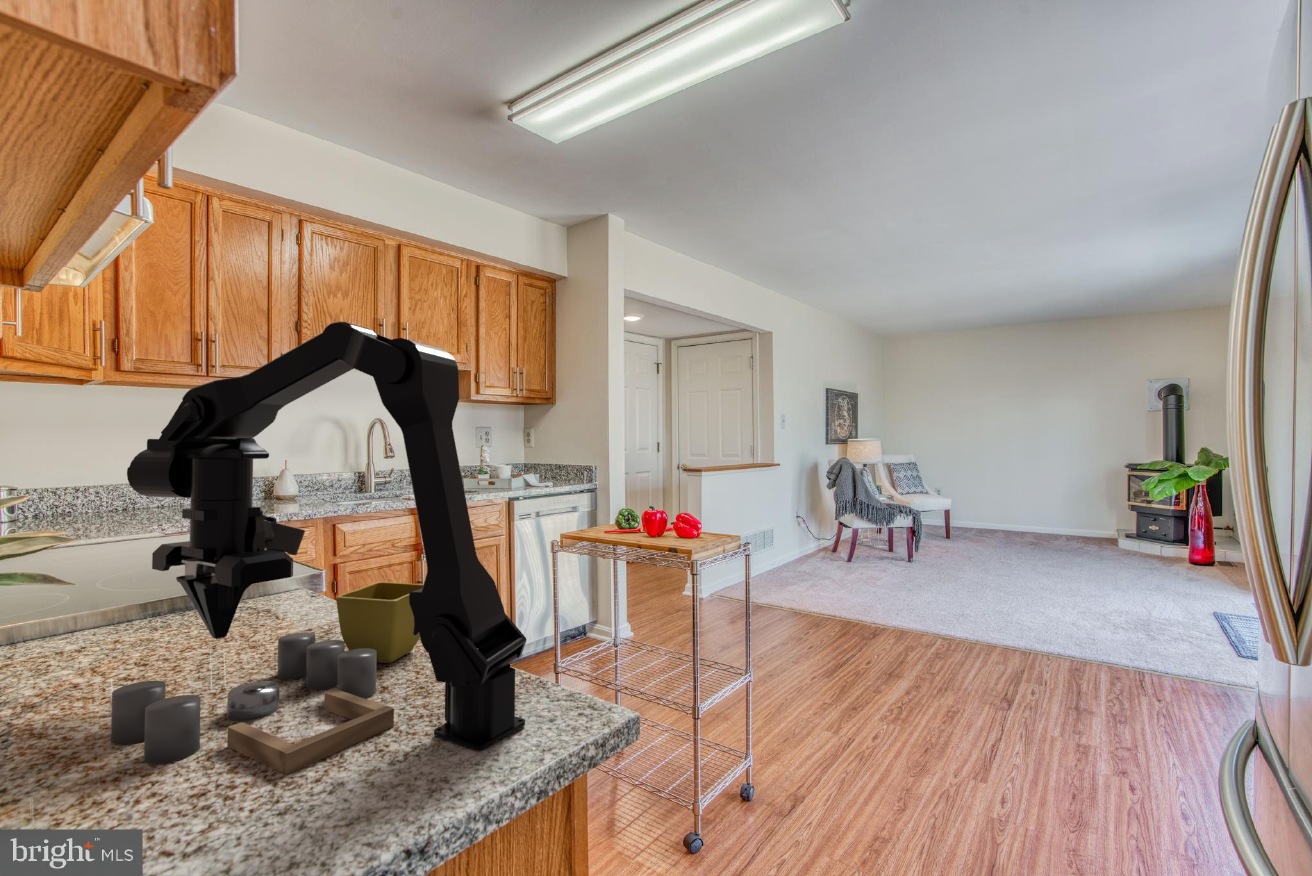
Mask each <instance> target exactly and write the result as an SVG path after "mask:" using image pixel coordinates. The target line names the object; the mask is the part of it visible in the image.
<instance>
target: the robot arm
mask: <svg viewBox="0 0 1312 876" xmlns="http://www.w3.org/2000/svg"><path fill="white" fill-rule="evenodd" d="M352 370H356V371H358V372H361V373H363V374H365V375H369V376H370V377H372V378H373V380H374V383H375V387H376V390H377V392H378V395H379V397H380V401H381V403H382V405H383V406H384V408H385V409H386V411H387V413H389V415H390V416H391V418H392V419H393V420H394V422H395V423H396V424H397V426H398V428H400V430H401V433H402V435H403V436H402V437H403V442H404V449H405V454H406V459H407V460H406V461H407V463H408V470H409V475H410V481H411V486H412V493H413V496H414V497H413V498H414V504H415V508H416V509H415V510H416V513H417V514H416V515H417V520H418V525H419V530H420V535H421V541H422V547H423V552H424V556H425V562H426V574H425V575H426V576H425V578H424V582H423V588H421V589H419V590H416V591H413V592H411V593H410V594H409V603H410V606H411V609H412V612H413V616H414V632H413V634H414V635H417V634H419V633H420V638H419V639H420V642H421V645H422V647H423V648H424V650H425V652H426V653H428V656H429V659H430V663H431V667H432V669H433V673H434V676H435V680H436V682H439V683H445V685H444V686H445V687H444V689H445V691H444V722H446V723H443V724H442V725H440V726H438V727H436V728H434V729H433V735H434V736H435V737H438V738H440V739H443V740H447V741H449V742H451V743H455V744H458V745H460V746H464V747H466V748H469V749H472V750H475V751H482V750H485V749H487V748H488V747H490V746H492V745H493V744H495V743H497V742H498V741H500V740H503V739H504V738H505V737H508V736H510V734H512V733H515V732H516V731H518V730H520V729H521V728H523V727H525V725H526V719H525V718H523V717H518V716H515V715H516V712H515V711H516V668H515V667H511V663H512V662H513V661H514V660H516V659H519V658H520V657H521V656H522V654H523V651H524V649H525V646H526V643H527V638H526V636H525V635H524V634H523V632H522V631H521V630H520V629H519V628H518V626H517V625H516V624H515V623H514V622H513V621H512V620H511V618H510V617H509V616H508V615H507V614H506V612H505V608H504V604H503V602H502V599H501V596H500V594H499V591H498V588H497V584H496V582H495V580H494V578H493V577H492V575H490V573H489V572H488V571H487V569H486V568H485V566H484V565H483V564H482V562H481V561H480V560H479V558H478V555H477V551H476V547H475V541H474V536H473V530H472V525H471V521H470V513H469V510H468V504H467V498H466V493H465V488H464V482H463V478H462V477H463V476H462V471H461V467H460V466H461V465H460V461H459V455H458V451H457V445H456V441H455V434H454V430H453V421H454V417H455V413H456V411H457V407H458V405H459V404H458V403H459V401H460V385H459V384H460V381H459V377H460V376H459V374H460V373H459V366H458V364H457V360H456V359H455V358H454V356H453V355H452V354H450V353H449V352H448V351H446V350H445V349H443V348H440V347H435V346H432V345H428V344H424V343H421V342H418V341H414V340H412V339H407V338H402V337H398V338H393V339H391V338H388V337H385V336H383V335H381V334H379V333H376V332H374V330H372V329H370V328H367V327H365V326H361V325H358V324H354V323H351V322H346V321H338V322H332V323H329V324H328V325H327V326H326V327H324V330H323V331H322V332H321V333H319V334H317V335H315V336H313V337H312V338H309V339H307V340H306V341H305V342H303V343H302V344H300V345H297V346H296V347H294V348H292V349H290V350H289V351H286V352H285V353H284V354H283V353H282V354H281V355H279V356H278V357H276V358H275V359H272V360H270V361H269V362H268V363H265V364H264V365H262V366H260V367H259V368H257V369H255V370H253V371H252V372H249V373H247V374H244V375H241V376H236V377H229V378H228V377H227V378H222V379H215V380H212V381H210V382H206V383H204V384H201V385H196V386H194V387H191V388H190V389H189V390H188V391H186V393H185V394H184V395H183V397H182V401H181V402H180V404H179V405H178V407H177V409H176V410H175V412H174V414H173V415H172V417H171V418H170V420H169V421H168V423H167V425H166V426H165V427H164V428H163V429H162V431H161V432H160V433H161V435H160V437H159V438H147V440H146V449H144V450H142V451H140V452H138V453H137V454H136V455H135V456H134V457H133V459H132V460H131V462H130V464H129V466H128V467H127V469H126V477H127V481H128V484H129V486H130V487H131V488H132V490H133V491H134V492H136V493H137V494H139V495H142V496H143V497H150V498H156V497H157V498H182V499H185V498H187V499H190V507H189V508H188V507H187V508H182V510H181V511H182V512H181V513H182V514H181V518H182V519H188V520H189V541H179V542H178V541H177V542H170V543H161V544H160V545H159V546H158V547H157V548H156V549H155V550H154V551H153V552H152V558H151V559H152V560H151V561H152V562H151V570H155V571H160V572H167V571H169V570H170V569H171V567H178V566H184V575H179V576H176V582H177V583H179V584H180V585H181V587H182V589H183V590H184V591H185V593H186V595H187V596H188V598H189V600H190V601H191V603H192V605H193V606H194V608H195V609H196V611H197V613H198V614H199V617H200V618H201V620H202V622H203V624H204V625H205V627H206V629H207V630H208V633H209V634H210V636H211V637H212V638H213V639H215V640H219V639H224V638H226V637H227V636H228V633H229V631H230V628H231V626H232V623H233V620H234V617H235V614H236V612H237V610H238V607H239V604H240V602H241V599H242V598H243V596H244V593H245V591H246V590H247V589H248V588H249V587H250V586H252V585H255V584H259V583H267V582H271V581H278V580H282V579H283V580H284V579H289V578H292V577H294V558H293V557H291V556H297V555H298V553H299V549H300V546H301V543H302V541H303V539H304V535H305V534H306V530H305V529H301V528H297V527H294V526H290V525H287V524H286V525H285V524H283V523H278V522H277V518H276V517H274V516H273V517H272V516H267V515H265V514H264V511H263V510H262V509H261V506H254V505H253V494H254V493H253V491H254V485H253V484H254V483H253V482H254V477H253V476H254V460H256V459H257V460H258V459H259V460H260V459H261V460H267V459H268V458H269V457H270V453H269V452H268V451H267V450H266V449H265V448H263V446H261V445H260V444H259V443H258V442H257V441H256V439H255V437H256V436H258V435H259V434H261V433H262V432H263V431H264V430H266V429H267V428H268V427H269V426H271V425H272V424H273V423H274V422H275V420H276V419H277V417H278V412H279V411H280V410H281V409H283V408H284V407H285V406H287V405H288V404H290V403H293V402H294V401H296V400H298V399H300V398H302V397H303V396H305V395H307V394H310V393H312V392H313V391H315V390H317V389H319V388H320V387H322V386H325V385H326V384H328V383H330V382H331V381H333V380H335V379H338V377H341V376H342V375H345V374H347V373H348V372H350V371H352ZM290 555H291V556H290Z"/></svg>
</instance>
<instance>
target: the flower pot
mask: <svg viewBox="0 0 1312 876" xmlns="http://www.w3.org/2000/svg"><path fill="white" fill-rule="evenodd" d="M423 585H424V583H421V584H419V583H406V582H391V581H388V582H387V581H377V582H374V583H370V584H367V585H366V586H363V587H360V588H357V589H354V590H350V591H348V592H345V593H342V594H340V595H337V596H336V597H335V601H336V610H337V616H338V622H339V628H340V633H341V638H342V641H344V642H345V647H346V648H347V649H348V650H353V649H360V648H370V649H374V650H376V651H377V657H376V663H381V664H382V663H383V664H390V663H393V662H394V661H396V660H399V659H400V658H401V657H403V656H405V655H407V654H409V653H410V652H412V651H413V649H414V648H415V647H416V645H417V643H418V642H419V639H420V633H419V634H417V635H414V634H413V632H414V616H413V612H412V609H411V606H410V603H409V594H410V593H411V592H413V591H416V590H419V589H421V588H423Z"/></svg>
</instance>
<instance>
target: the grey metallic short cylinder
mask: <svg viewBox="0 0 1312 876" xmlns="http://www.w3.org/2000/svg"><path fill="white" fill-rule="evenodd" d="M279 709H280V682H277V681H273V680H264V681H263V680H261V681H253V682H248V683H245V684H241V685H238V686H236V687H233V688H232V689H230V690H229V691H228V692H227V709H226V710H227V711H226V713H227V714H226V715H227V719H228V721H230V722H238V723H240V722H243V723H244V722H250V721H255V720H259V719H263V718H266V717H268V716H271V715H273V714H275V713H276V712H277V711H279Z"/></svg>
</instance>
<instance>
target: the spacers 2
mask: <svg viewBox="0 0 1312 876" xmlns="http://www.w3.org/2000/svg"><path fill="white" fill-rule="evenodd" d="M345 650H346V644H345V642H344V640H340V639H329V640H328V639H327V640H321V641H316V633H315V632H308V631H307V632H306V631H305V632H304V631H303V632H294V633H289V634H286V635H282V636H281V637H278V640H277V678H278V679H279V680H284V681H285V680H286V681H287V680H291V681H292V680H298V679H303V678H305V688H307V689H308V690H313V691H319V690H327V689H331V688H334V687H337V688H336V689H337V690H340V691H343V692H346V693H349V694H352V695H355V696H358V697H361V698H364V699H367V698H369V697H372V696H373V695H374V694H375V693H376V692H377V662H376V657H377V651H376V650H374V649H370V648H360V649H353V650H349V649H348V650H346V651H345Z"/></svg>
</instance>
